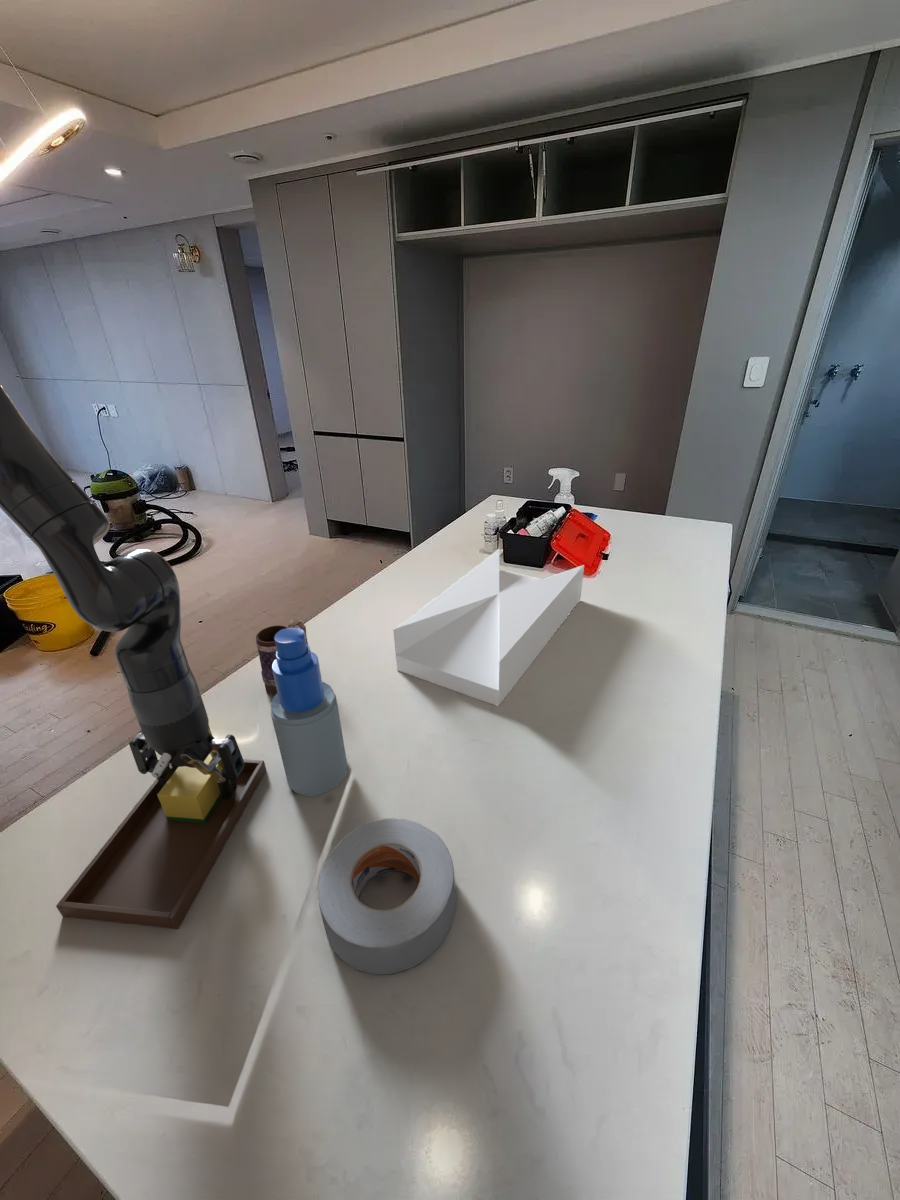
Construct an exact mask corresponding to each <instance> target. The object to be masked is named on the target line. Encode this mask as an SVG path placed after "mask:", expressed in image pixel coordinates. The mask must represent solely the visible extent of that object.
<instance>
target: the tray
mask: <svg viewBox="0 0 900 1200" xmlns="http://www.w3.org/2000/svg"><path fill="white" fill-rule="evenodd" d="M243 760H244V763H245V766H244V768H243V769H242V771H241V773H240V774H239V776H238V777H237V779H236V780H235V782H236V784H237V789H236V791H235V792H234V794H233V796H232V797H231V798H230V799H229V800H223V798H222V797H221V799H220V801H219V802H218V804H217V805H216V807H215V809H214V810H213V812H212V814H211V815H210V817H209V818H208V820H207V822H206V823H196V822H183V821H171V820H168V819H167V816H166V815H165V812H164V810H163V808H162V805H161V803H160V801H159V798H158V796H157V794H158V793H159V792H160V790H161V786H160V784H159V782H158V779H157V778H155V780H154V781H153V783H151V785H150V787H149V788H148V789H147V790H146V791H145V793H144V794H143V795H142V796H141V797H140V799H139V800H138V801H137V802H136V804H135V805H134V807H132V809H131V810H130V811H129V813H128V814H127V815H126V817H125V818H123V820H122V822H121V823H120V824H119V825H118V827H117V828H116V829H115V831H114V832H113V833H112V834H111V835H110V837H108V839H107V841H106V842H105V843H104V844H103V845H102V846H101V848H100V850H99V851H98V852H97V853H96V855H95V856H94V857H93V858H92V860H91V861H90V862H89V864H87V866H86V868H85V869H84V870H83V871H82V872H81V874H80V875H79V876H78V877H77V879H76V880H75V881H74V882H73V884H72V885H71V886H70V887H69V888H68V890H67V891H66V893H65V894H64V895H63V897H62V898H61V899H60V900H59V901H58V903H57V904H55V908H56V909H57V910H58V913H60V915H61V917H63V918H71V919H80V920H89V921H97V922H98V921H99V922H107V923H117V924H126V925H135V926H145V927H154V928H164V929H173V930H179V929H180V927H181V925H182V923H183V922H184V920H185V918H186V916H187V914H188V913H189V911H190V909H191V907H192V905H193V903H194V902H195V900H196V898H197V896H198V894H199V893H200V891H201V889H202V888H203V886H204V883H205V882H206V880H207V878H208V877H209V875H210V873H211V871H212V869H213V868H214V866H215V865H216V863H217V860H218V859H219V857H220V855H221V853H222V851H223V850H224V848H225V846H226V844H227V843H228V841H229V839H230V837H231V836H232V833H233V832H234V830H235V828H236V826H237V824H238V823H239V821H240V819H241V817H242V816H243V814H244V812H245V811H246V808H247V806H248V805H249V803H250V801H251V800H252V798H253V796H254V794H255V793H256V790H257V789H258V787H259V785H260V783H261V782H262V780H263V778H264V776H265V774H266V772H267V767H266V764H265V761H264V760H259V759H258V760H256V759H244V758H243ZM169 766H171V767H173V768H174V771H176V769H177V768H178V767H175V765H174V764H170V765H169Z"/></svg>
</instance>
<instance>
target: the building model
mask: <svg viewBox="0 0 900 1200" xmlns="http://www.w3.org/2000/svg"><path fill="white" fill-rule="evenodd" d="M584 571H585V564H581V565H579V566H576V567H573V568H570V569H567V570H564V571H561V572H558V573H555V574H552V575H550V576H546V577H544V578H540V577H535V576H532V575H526V574H523V573H522V574H521V573H516V572H513V571H509V570H503V569H500V548H497V550H495V551H494V552H493V553H491V554H490V555H488V556H487V557H486V558H485V559H484V560H482V561H480V562H479V563H478V564H476V566H474V567H473V568H471V569H470V570H469V571H467V572H466V573H465V574H463V576H461V577H460V578H458V580H456V581H455V582H453V583H452V584H450V585H449V586H448V587H447V588H445V589H444V590H442V591H441V592H440V593H439V594H438V595H436V596H434V597H433V598H432V599H431V600H429V602H427V603H426V604H425V605H423V606H422V607H421V608H419V609H418V610H416V611H415V612H414V613H412V614H411V615H410V616H409V617H407V618H406V619H405V620H404V621H402V622H401V623H400V624H398V625H397V626H396V627H394V628H393V631H392V632H393V641H394V652H395V662H396V671H398V672H401V673H403V674H407V675H409V676H412V677H415V678H417V679H421V680H424V681H426V682H429V683H432V684H434V683H435V685H438V686H440V687H443V688H446V689H449V690H451V691H454V692H457V693H460V694H463V695H464V696H469V697H471V698H474V699H476V700H478V701H482V702H485V703H488V704H491V705H494V706H496V707H499V706H501V704H502V702H503V701H504V700H505V698H506V697H507V696H508V695H509V693H510V692H511V690H512V689H513V688H514V687H515V686H516V684H517V683H518V682H519V681H520V679H521V678H522V677H523V675H524V674H525V673H526V672H527V670H528V669H529V667H530V666H531V665H532V663H533V662H534V661H535V660H536V658H537V657H538V656H539V655H540V653H541V652H542V651H543V649H544V648H545V647H546V646H547V644H548V643H549V642H550V641H551V639H552V638H553V637H554V635H555V634H556V633H557V631H558V630H559V629H560V627H561V626H562V625H563V624H562V622H563V621H564V620H565V619H566V620H567V618H568V617H569V616H568V614H569V613H570V612H571V610H572V609H573V608H574V607H575V605H576V604H577V603H578V601H579V600H580V599H582V598H581V597H582V589H583V580H584ZM580 601H581V600H580ZM578 604H579V603H578ZM578 604H577V605H578ZM577 605H576V606H577ZM575 608H576V607H575ZM575 608H574V609H575ZM574 609H573V610H574ZM571 613H572V612H571ZM571 613H570V614H571ZM567 616H568V617H567ZM566 617H567V618H566ZM566 620H565V621H566ZM565 621H564V622H565ZM564 622H563V623H564ZM561 624H562V625H561ZM560 625H561V626H560ZM559 626H560V627H559ZM558 628H559V629H558ZM557 629H558V630H557ZM555 632H556V633H555ZM554 633H555V634H554ZM551 637H552V638H551ZM548 641H549V642H548Z"/></svg>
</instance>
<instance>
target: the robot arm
mask: <svg viewBox="0 0 900 1200" xmlns="http://www.w3.org/2000/svg"><path fill="white" fill-rule="evenodd" d="M0 509H1V511H2V512H3V513H4V514H5V515H6V516H7V517H8V518H9V519H10V520H11V522H13V523H14V524H15V525H16V526H17V527H18V528H19V530H21V531H22V533H23V534H24V535H26V537H28V539H30V541H31V542H33V544H34V545H35V546H36V547H37V548H38V549H39V550H40V552H41V553H42V555H43V557H44V559H45V560H46V562H47V564H48V566H49V568H50V570H51V571H52V573H53V575H54V576H55V578H56V580H57V583H59V586H60V588H61V589H62V591H63V593H64V596H65V598H66V599H67V602H68V604H69V605H70V607H71V608H72V610H73V611H74V612H75V613H76V615H77V616H78V617H79V618H80V619H81V620H82V621H84V622H85V623H87V625H89V626H91V627H93V628H95V629H98V630H100V631H104V632H110V633H116V632H117V633H118V632H122V631H124V630H126V631H125V632H124V634H122V636H121V637H120V638H119V639H118V641H117V642H116V644H115V646H114V652H113V654H114V657H115V660H116V664H117V666H118V669H119V671H120V674H121V676H122V679H123V681H124V684H125V686H126V689H127V693H128V698H129V702H130V706H131V708H132V710H133V713H134V715H135V717H136V720H137V722H138V726H139V727H140V731H139V732H138V733H137V734H135V736H134V737H133V738H132V740H130V741H129V743H128V745H129V748H130V750H131V754H132V757H133V760H134V762H135V765H136V768H137V770H138V772H139V773H140V774H142V775H146V774H147V773H151V776H152V777H153V778H155V779H158V782H159V784H160V786H161V789H162V788H163V787H164V785H165V784H166V783H167V781H168V780H169V779H170V777H171V776H172V775H173V773H174V772H175V771H174V768H173V767H171V766H169V765H170V764H174V765H175V767H183V766H187V767H191V768H197V769H198V770H199V771H200V772H202V773H203V774H204V775H208V774H209V775H211V776H212V777H213V778H215V779H216V780H217V781H218V782H217V784H218V787H219V790H220V793H221V796H222V798H223V800H229V799H230V798H231V797H232V796H233V794H234V792H235V791H236V789H237V784H236V782H235V780H236V779H237V777H238V776H239V774H240V773H241V771H242V769H243V768H244V766H245V763H244V760H245V759H244V758H243V755H242V752H241V749H240V748H239V744H238V742H237V739H236V737H235V736H234V735H233V734H227V735H226V736H225V737H224V738H223V739H222V738H215V737H214V736H213V734H212V735H211V734H210V732H209V727H210V721H209V715H208V713H207V710H206V707H205V704H204V701H203V697H202V694H201V691H200V687H199V684H198V681H197V679H196V677H195V675H194V673H193V671H192V669H191V667H190V664H189V661H188V659H187V655H186V653H185V650H184V645H183V644H182V640H181V628H182V627H181V626H182V620H181V619H182V618H181V593H180V591H181V590H180V583H179V580H178V578H177V575H176V573H175V571H174V569H173V567H172V565H171V564H170V563H169V562H168V560H167V559H165V558H164V557H163V556H162V555H160V554H159V553H157V552H155V551H153V550H150V549H147V548H135V549H131V550H129V551H126V552H125V553H122V554H120V555H118V556H116V557H114V558H113V559H111V560H108V561H107V562H105V563H102V562H101V559H100V558H99V556H98V553H97V551H96V548H95V545H96V544H97V543H98V542H100V541H101V540H102V539H103V538H104V537H105V536H106V535H107V534H108V532H109V530H110V525H111V524H110V521H109V519H108V518H107V516H106V515H105V513H104V512H103V511H102V509H101V508H99V506H98V505H97V504H96V503H95V502H94V501H93V499H92V498H91V497H90V496H89V495H88V494H87V493H86V492H85V490H84V489H83V488H82V487H81V486H80V485H79V484H78V482H76V481H75V479H74V478H73V477H72V476H71V475H70V474H69V473H68V472H67V471H66V470H65V468H64V467H63V466H62V465H61V464H60V463H59V461H57V459H56V458H55V457H54V456H53V454H51V452H50V451H49V449H47V448H46V446H45V445H44V443H43V442H42V441H41V440H40V438H39V437H38V436H37V435H36V433H35V432H34V431H33V429H32V428H31V426H30V425H29V424H28V422H27V421H26V420H25V419H24V416H23V415H22V414H21V413H20V411H19V410H18V408H17V406H16V405H15V403H13V401H12V400H11V397H10V396H9V395H8V393H7V392H6V391H5V389H4V387H3V386H2V385H1V384H0ZM157 754H158V755H159V756H160V757H159V759H158V756H157ZM209 754H210V755H211V756H212V759H211V761H210V762H209V764H208V765H207V764H206V763H204V761H205V760H206V758H207V757H208V755H209ZM243 759H244V760H243ZM217 764H218V765H219V766H220V767H222V768H223V769H222V771H221V772H220V771H219V770H218V769H217V768H216V765H217Z"/></svg>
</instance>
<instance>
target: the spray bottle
mask: <svg viewBox="0 0 900 1200" xmlns="http://www.w3.org/2000/svg"><path fill="white" fill-rule="evenodd" d="M274 639H275V644H276V648H277V651H276V660H275V661H274V662H273V664H272V671H273V675H274V680H275V684H276V688H277V694H276V695H275V696H274V695H273V697H272V700H271V703H270V716H271V721H272V725H273V730H274V733H275V737H276V741H277V745H278V750H279V753H280V757H281V761H282V765H283V769H284V773H285V778H286V781H287V784H288V786H289V789H291V790H292V791H293V792H295V794H299V795H302V796H307V797H309V796H310V797H315V796H319V795H324V794H327V793H328V792H330V791H332V790H334V789H336V787H338V786H339V785H340V784H341V783H342V782H343V780H344V779H345V778H346V776H347V773H348V770H349V769H348V760H347V753H346V748H345V743H344V742H345V741H344V736H343V730H342V724H341V723H342V722H341V718H340V717H341V716H340V711H339V706H338V705H339V704H338V700H337V695H336V693H335V691H334V689H333V688H332V686H331V685H329V684H328V683H326V682H325V681H323V678H322V674H321V672H322V671H321V668H320V662H319V657H318V656H317V654H316V653H315V652H313V651H311V647H310V645H309V644H308V645H307V643H306V637H305V632H304V631H303V630H302V629H300V628H299V627H295V628H286V629H282V630H280V631H279V632H277V633H276V635H275V637H274Z"/></svg>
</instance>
